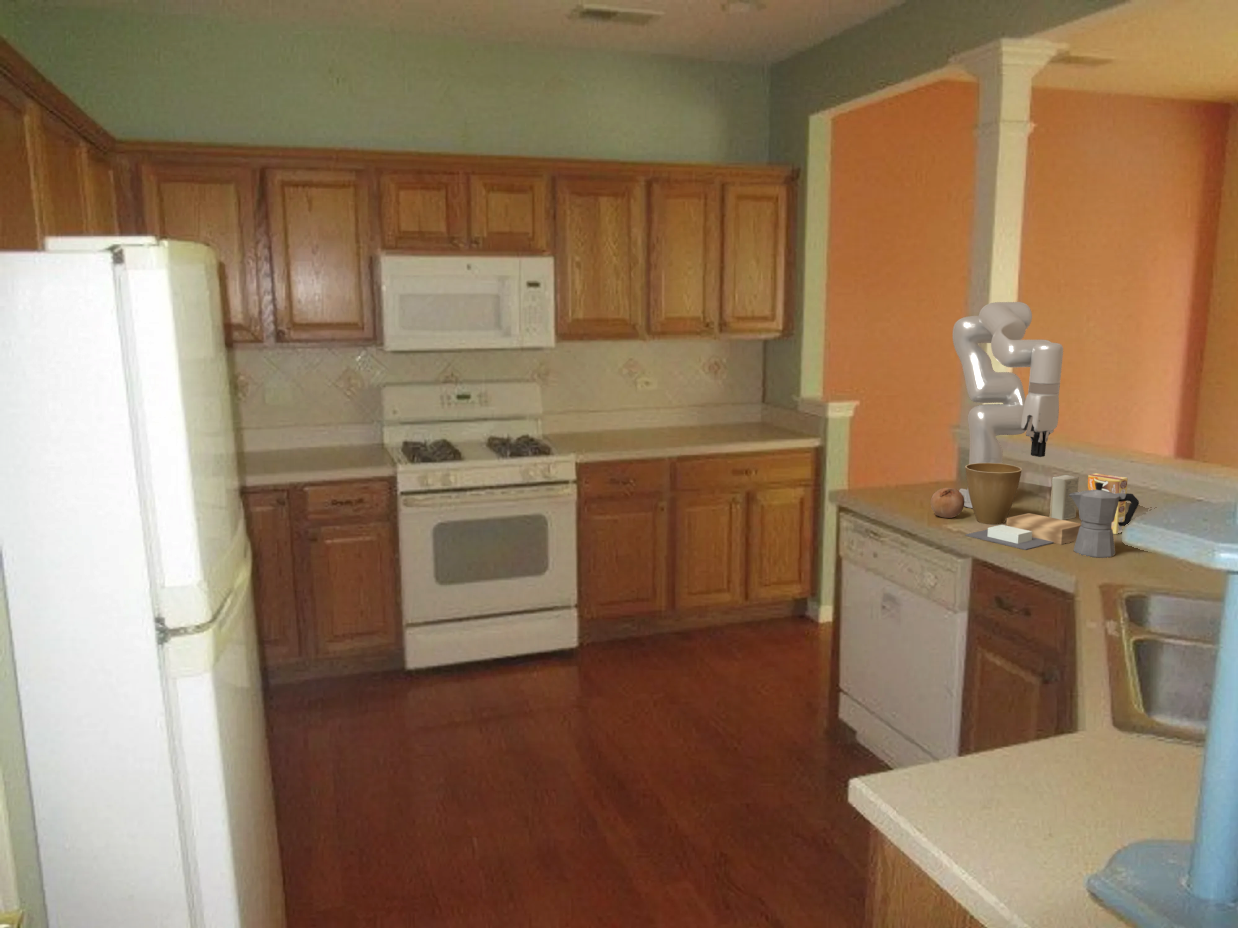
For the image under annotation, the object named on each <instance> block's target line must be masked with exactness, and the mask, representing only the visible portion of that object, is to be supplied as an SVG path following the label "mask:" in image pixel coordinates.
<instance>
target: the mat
mask: <svg viewBox="0 0 1238 928" xmlns="http://www.w3.org/2000/svg"><path fill="white" fill-rule="evenodd" d="M987 535H988V528H987V529H985V530H978V531H975V532H974V531H973V532H971V533H970V532H969V533H966V534H965V536H967V537H970V538H974V539H977V540H983V541H987V542H991V543H995V544H999V545H1004V546H1007V547H1013V548H1016V549H1019V550H1020V549H1021V550H1022V551H1023V550H1025V551H1028V550H1032V549H1035V548H1040V547H1043V546H1048V545H1051V544H1055V543H1054V542H1052V541H1048V540H1043V539H1039V538H1034V537H1032V540H1031V541H1027V542H1023V543H1018V544H1017V543H1013V542H1009V541H1004V540H1000V539H996V538H992V537H987Z"/></svg>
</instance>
